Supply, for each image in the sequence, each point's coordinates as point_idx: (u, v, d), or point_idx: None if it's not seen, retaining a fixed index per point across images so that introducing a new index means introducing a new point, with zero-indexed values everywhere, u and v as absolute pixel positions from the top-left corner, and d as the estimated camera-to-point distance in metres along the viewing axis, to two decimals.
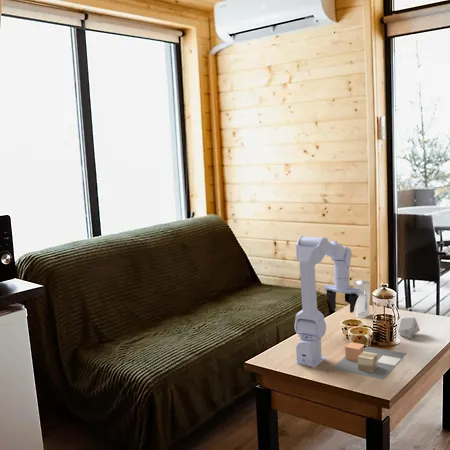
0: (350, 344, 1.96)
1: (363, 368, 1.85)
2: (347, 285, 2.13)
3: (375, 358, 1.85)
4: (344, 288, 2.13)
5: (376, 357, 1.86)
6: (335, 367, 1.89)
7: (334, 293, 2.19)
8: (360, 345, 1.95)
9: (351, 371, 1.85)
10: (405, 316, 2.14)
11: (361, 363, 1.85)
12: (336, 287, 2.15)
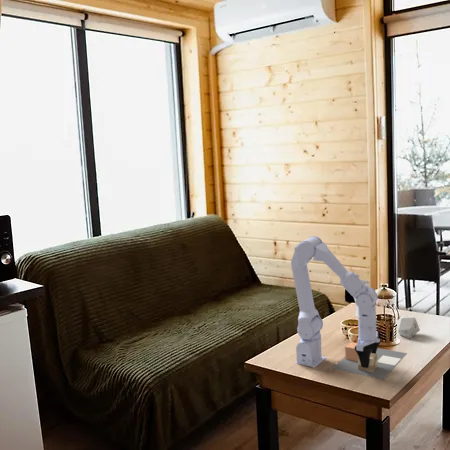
0: (350, 344, 1.96)
1: (363, 368, 1.85)
2: (361, 335, 1.83)
3: (375, 358, 1.85)
4: (359, 337, 1.85)
5: (376, 357, 1.86)
6: (335, 367, 1.89)
7: (372, 343, 1.87)
8: None
9: (351, 371, 1.85)
10: (405, 316, 2.14)
11: None
12: None
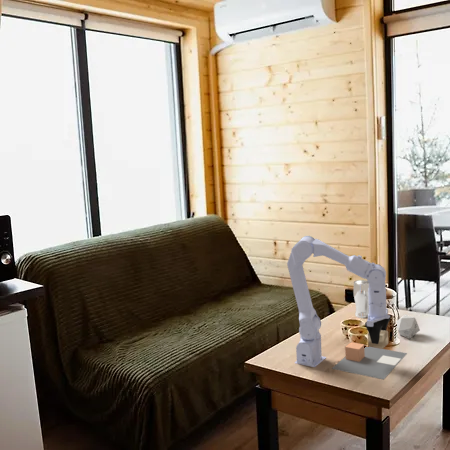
0: (350, 344, 1.96)
1: (373, 345, 1.86)
2: (371, 311, 1.85)
3: (385, 335, 1.86)
4: (369, 313, 1.86)
5: (386, 334, 1.87)
6: (335, 367, 1.89)
7: (382, 320, 1.88)
8: (360, 345, 1.95)
9: (351, 371, 1.85)
10: (405, 316, 2.14)
11: None
12: None
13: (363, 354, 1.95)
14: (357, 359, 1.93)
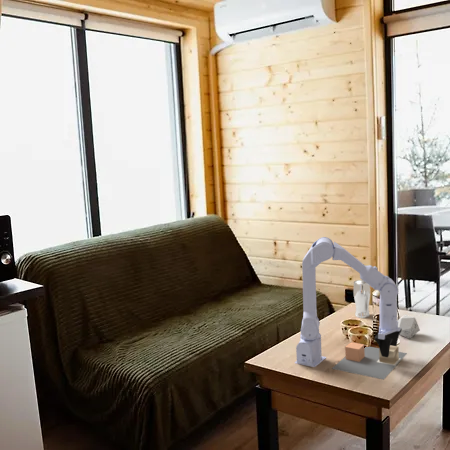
0: (350, 344, 1.96)
1: (384, 360, 1.90)
2: (382, 324, 1.88)
3: (396, 350, 1.90)
4: (380, 326, 1.89)
5: (397, 350, 1.91)
6: (335, 367, 1.89)
7: (394, 331, 1.93)
8: (360, 345, 1.95)
9: (351, 371, 1.85)
10: (405, 316, 2.14)
11: (382, 356, 1.90)
12: None
13: (363, 354, 1.95)
14: (357, 359, 1.93)
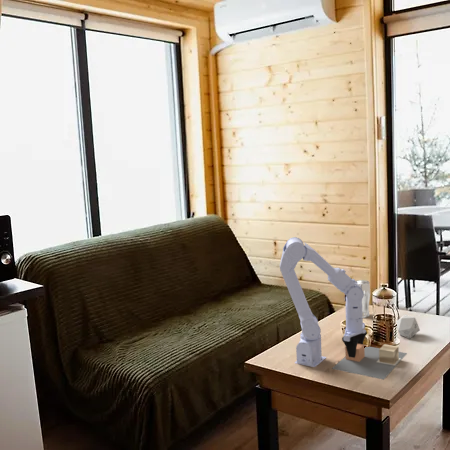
0: None
1: (384, 360, 1.90)
2: (348, 326, 1.92)
3: (396, 350, 1.90)
4: (346, 328, 1.94)
5: (397, 350, 1.91)
6: (335, 367, 1.89)
7: (359, 334, 1.96)
8: (360, 345, 1.95)
9: (351, 371, 1.85)
10: (405, 316, 2.14)
11: (382, 356, 1.90)
12: None
13: (363, 354, 1.95)
14: (357, 359, 1.93)
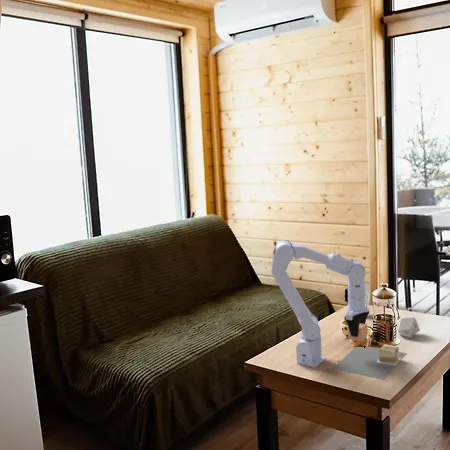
0: None
1: (384, 360, 1.90)
2: (351, 305, 1.91)
3: (396, 350, 1.90)
4: (348, 307, 1.92)
5: (397, 350, 1.91)
6: (335, 367, 1.89)
7: (362, 314, 1.95)
8: (363, 325, 1.93)
9: (351, 371, 1.85)
10: (405, 316, 2.14)
11: (382, 356, 1.90)
12: None
13: (366, 334, 1.94)
14: (360, 338, 1.91)
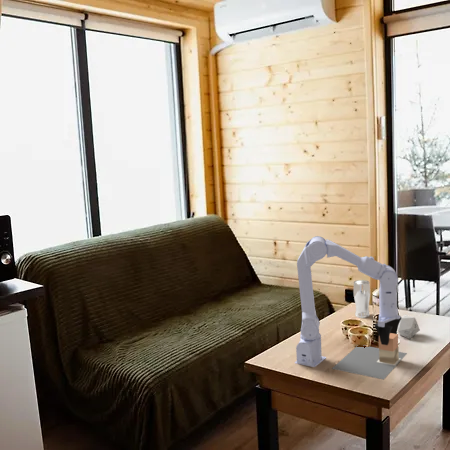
0: None
1: (384, 360, 1.90)
2: (382, 312, 1.87)
3: (396, 350, 1.90)
4: (380, 314, 1.89)
5: (397, 350, 1.91)
6: (335, 367, 1.89)
7: (394, 320, 1.92)
8: (394, 335, 1.90)
9: (351, 371, 1.85)
10: (405, 316, 2.14)
11: (382, 356, 1.90)
12: None
13: (397, 344, 1.91)
14: (391, 349, 1.88)
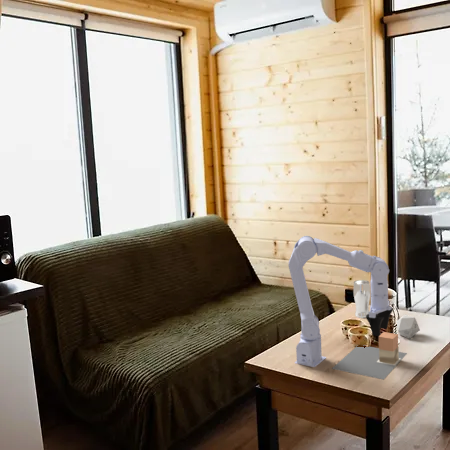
0: (383, 334, 1.92)
1: (384, 360, 1.90)
2: (373, 303, 1.89)
3: (396, 350, 1.90)
4: (371, 305, 1.90)
5: (397, 350, 1.91)
6: (335, 367, 1.89)
7: (385, 311, 1.93)
8: (394, 335, 1.90)
9: (351, 371, 1.85)
10: (405, 316, 2.14)
11: (382, 356, 1.90)
12: None
13: (397, 344, 1.91)
14: (391, 349, 1.88)
